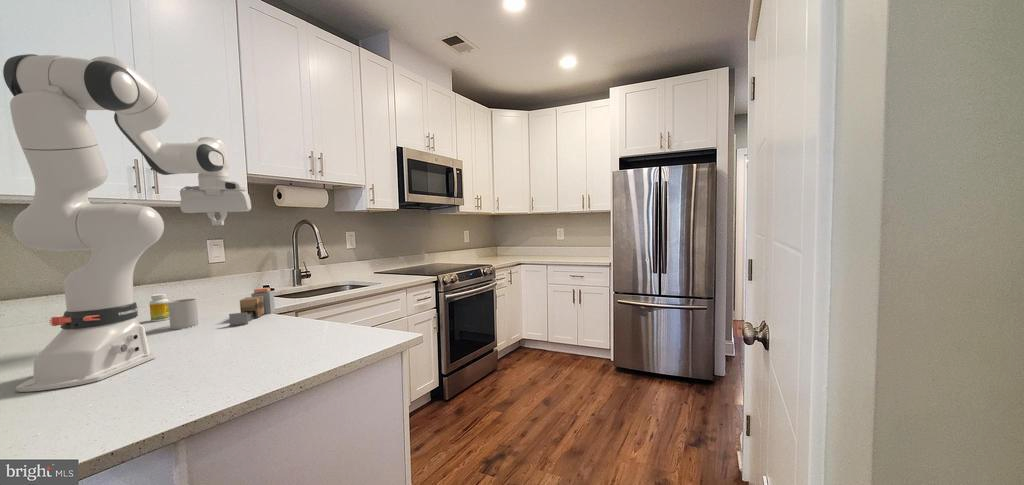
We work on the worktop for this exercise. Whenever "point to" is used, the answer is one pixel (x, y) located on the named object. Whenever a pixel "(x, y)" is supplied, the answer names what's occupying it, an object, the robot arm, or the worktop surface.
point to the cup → (183, 313)
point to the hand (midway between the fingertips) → (218, 225)
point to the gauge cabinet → (267, 301)
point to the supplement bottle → (159, 308)
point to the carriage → (252, 305)
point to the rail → (241, 317)
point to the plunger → (261, 290)
